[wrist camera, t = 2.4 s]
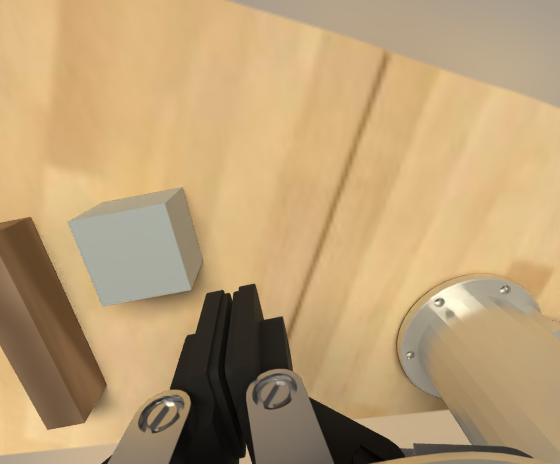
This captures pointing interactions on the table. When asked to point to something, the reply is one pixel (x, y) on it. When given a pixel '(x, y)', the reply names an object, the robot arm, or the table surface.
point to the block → (139, 246)
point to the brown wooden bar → (43, 331)
